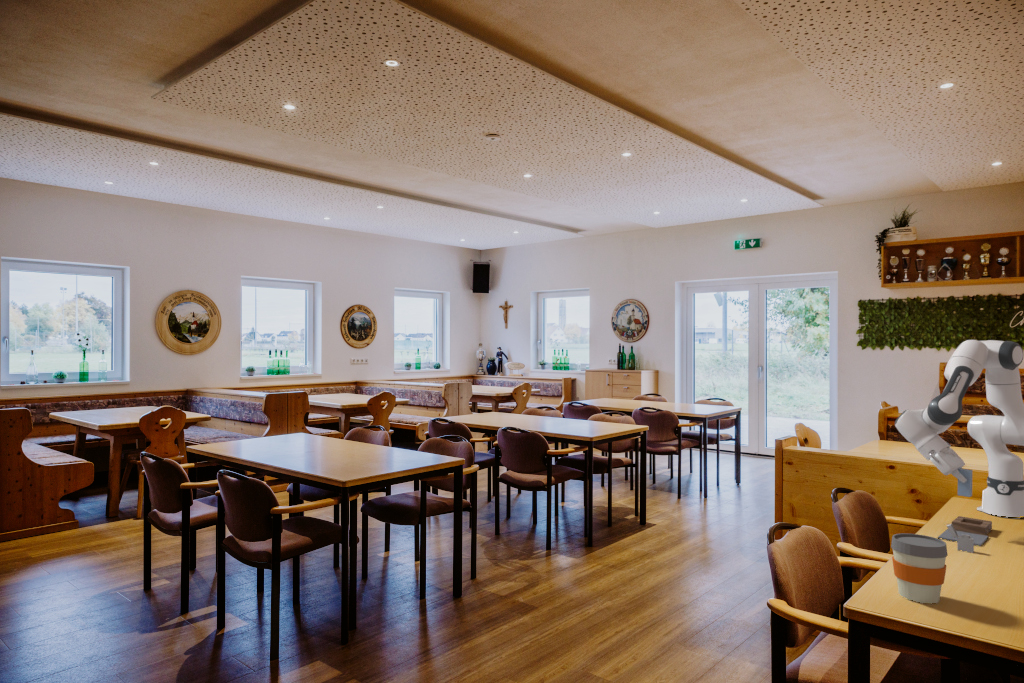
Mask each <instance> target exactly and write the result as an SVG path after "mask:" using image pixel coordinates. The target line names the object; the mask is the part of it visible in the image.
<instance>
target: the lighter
mask: <svg viewBox="0 0 1024 683" xmlns="http://www.w3.org/2000/svg"><path fill="white" fill-rule="evenodd" d="M946 527H947V529H949V531H950V533H951V535H952V537H953V538H955V537H957V542H956V543H957V547H956V548H957V551H959V550H962V551H961V552H964V551H967V552H966V553H970V552H971V554H973V553H974V552H975V548H974V547H975V545H974V539H973V538H971V537H970V536H969V535H966V534H962V536H958V534H957V532H956V530H955V528H954V527H953V525H952V523H949V524H946Z"/></svg>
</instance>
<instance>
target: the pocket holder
mask: <svg viewBox="0 0 1024 683" xmlns="http://www.w3.org/2000/svg"><path fill="white" fill-rule="evenodd" d="M951 524H952V525H953V527H954V528H955V530H956V531H962V532H968V533H974V534H979V535H985V536H988V535H989V533H991V531H992V530H993V522H992V520H986V519H979V518H972V517H966V516H962V515H961V516H960V515H958V516H957V517H956V518H955V519H954V520H952V521H951ZM991 529H992V530H991Z"/></svg>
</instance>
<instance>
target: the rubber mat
mask: <svg viewBox="0 0 1024 683" xmlns="http://www.w3.org/2000/svg"><path fill="white" fill-rule="evenodd" d="M956 532H957V534H958V536H962V534H966V535H969V536H970V537H971V538H973V539H974V546H976V545H979V546H978V547H982V546H983V545H984V543H985V542H986V541H987V540H988V539H989V536H988V535H986V536H985V535H979V534H974V533H968V532H962V531H956ZM938 538H942V539H941V540H943V539H947V540H946V541H948V540H952V541H951V542H954V541H957V537H955V538H953V537H952V535H951V533H950V531H949V529H948V528H947V529H945V530H944V531H943V532H942V533H941V534H940V535H938V536H937V539H938ZM987 538H988V539H987ZM981 545H982V546H981Z"/></svg>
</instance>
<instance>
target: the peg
mask: <svg viewBox="0 0 1024 683" xmlns="http://www.w3.org/2000/svg"><path fill="white" fill-rule="evenodd" d="M958 471H959V472H960V473H961V474H962V475H963V476H965V477H966V478H967V481H966V482H965V483H962V482H961V481H960V480H959V479H957V496H961V497H968V498H970V497H972V496H973V469H969V468H968V469H967V468H963V469H961V468H960V469H958Z"/></svg>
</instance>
